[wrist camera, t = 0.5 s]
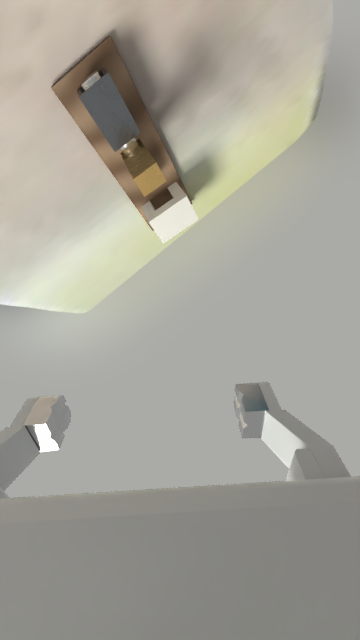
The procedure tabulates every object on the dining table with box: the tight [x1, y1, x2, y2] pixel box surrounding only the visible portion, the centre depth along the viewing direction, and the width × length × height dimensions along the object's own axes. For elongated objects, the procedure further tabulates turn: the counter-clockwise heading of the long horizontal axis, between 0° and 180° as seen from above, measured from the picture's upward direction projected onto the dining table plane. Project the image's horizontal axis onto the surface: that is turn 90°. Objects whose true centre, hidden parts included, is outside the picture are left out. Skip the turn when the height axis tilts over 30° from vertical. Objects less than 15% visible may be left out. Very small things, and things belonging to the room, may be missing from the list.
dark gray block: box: [77, 68, 141, 152], centre depth 40 cm, size 8×5×5 cm, turn 27°
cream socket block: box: [141, 182, 199, 243], centre depth 54 cm, size 6×9×7 cm, turn 117°
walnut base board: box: [51, 36, 192, 231], centre depth 48 cm, size 29×11×1 cm, turn 27°
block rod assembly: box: [81, 71, 166, 197], centre depth 40 cm, size 18×4×14 cm, turn 27°
